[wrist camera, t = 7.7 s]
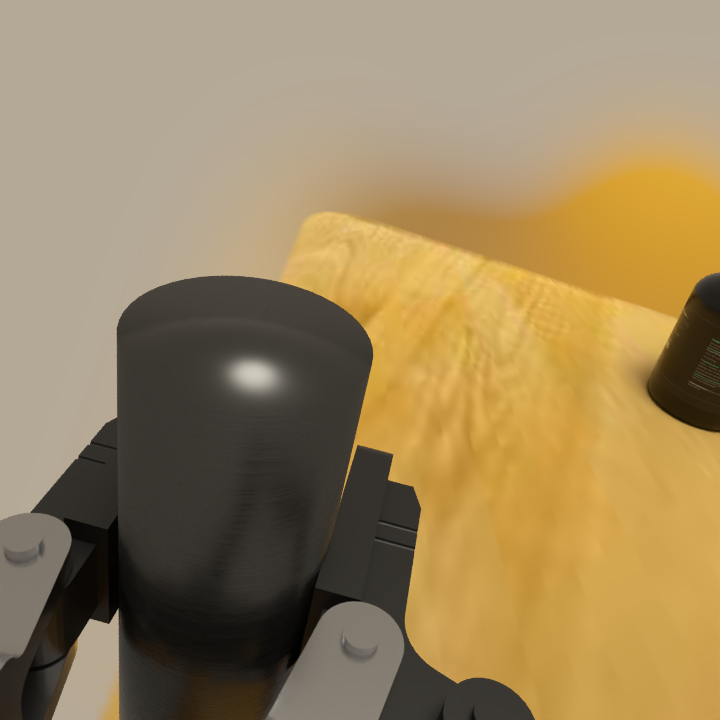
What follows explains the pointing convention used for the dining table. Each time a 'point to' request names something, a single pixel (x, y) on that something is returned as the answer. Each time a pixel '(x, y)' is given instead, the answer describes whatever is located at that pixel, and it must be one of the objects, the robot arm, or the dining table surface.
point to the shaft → (227, 487)
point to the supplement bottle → (692, 360)
